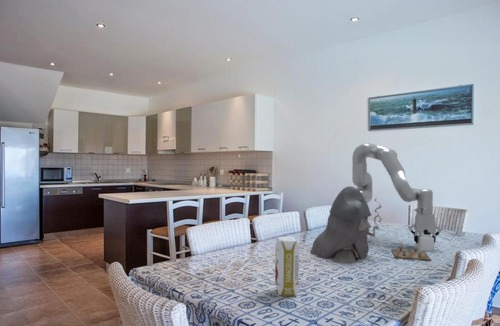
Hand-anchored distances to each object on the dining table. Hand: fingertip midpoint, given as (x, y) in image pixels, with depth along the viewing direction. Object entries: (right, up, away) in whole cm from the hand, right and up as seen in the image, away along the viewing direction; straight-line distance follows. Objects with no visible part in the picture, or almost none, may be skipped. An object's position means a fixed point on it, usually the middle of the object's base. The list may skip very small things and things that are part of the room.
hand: (424, 243), depth 188 cm
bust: (-49, -3, -14) cm, 51 cm away
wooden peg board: (-15, -3, -14) cm, 21 cm away
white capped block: (0, -4, 0) cm, 4 cm away
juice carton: (-84, -2, -68) cm, 108 cm away
